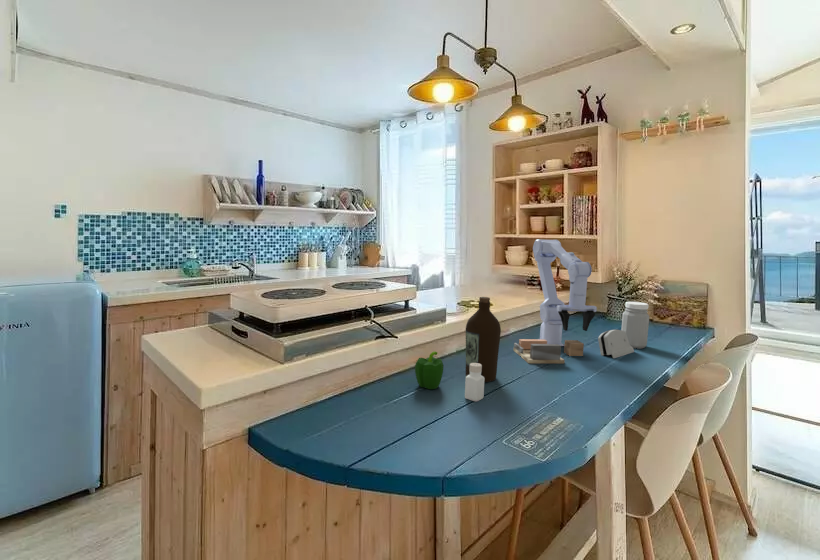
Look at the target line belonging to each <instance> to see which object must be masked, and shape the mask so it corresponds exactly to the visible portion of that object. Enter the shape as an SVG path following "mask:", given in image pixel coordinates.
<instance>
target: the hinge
mask: <svg viewBox="0 0 820 560" xmlns="http://www.w3.org/2000/svg"><path fill="white" fill-rule="evenodd" d="M597 341H598V347H599V352H600V356H610V355H611V357H612V359H616V358H619V357H623V356H625V355H629V354H633V353H634V352H635V350H634V349H635V348H633V347H632V346H630V345H629V342H628V339H627V336H626V333H625V332H624V331H622V330H621V329H611V330H606V331H604V332H602V333H600V335H599V336H598V337H597Z"/></svg>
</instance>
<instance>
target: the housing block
mask: <svg viewBox="0 0 820 560" xmlns="http://www.w3.org/2000/svg"><path fill="white" fill-rule="evenodd" d="M584 347H585V345H584V342H581V341H579V340H577V339H576V340H575V339H574V340H573V339H565V340H564V346H563V353H564V354H565V353H566V354H565V355H567V356H568V355H569V357H570V356H583V357H584Z"/></svg>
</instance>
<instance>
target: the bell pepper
mask: <svg viewBox="0 0 820 560" xmlns="http://www.w3.org/2000/svg"><path fill="white" fill-rule="evenodd" d="M436 355H438V351H432V352H431V353H430V354H429V355H428V356H429V357H426V358H424V357H418V358H417V360H416V362H415V364H414V374H415V378H416V382H417V384H418V385H419V387H420V388H425V389H428V390H435V389H438V387H439V386H440V384H441V381H442V379H443V378H442V377H443V374H444V363H443V361H442V360H443V359H442V358H436V357H434V356H436Z"/></svg>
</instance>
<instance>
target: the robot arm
mask: <svg viewBox="0 0 820 560" xmlns="http://www.w3.org/2000/svg"><path fill="white" fill-rule="evenodd" d="M532 252H533V256H534V257H533V258H534V261H535V262H536V265H537V270H538V274H539V279H540V284H541V288H542V293H543V298H544V301H543V302H541V303H540V305H539V317H540V319H541V320H540V321H542V323H541V324H540V329H539V330H540V331H539V339H545V340H546V341H547V344H559V345H560V346H561V347H564V345H565V343H563V342H562V335H563V330H564V331H565V332H568V329H569V319H570V316H571V313H569V312H582V330H583V331H585V332H587V331H588V328H589V326H590V323H591V322H592V320H593V319H594V317H595V316H596V313H597V309H598V307H597V306H596V305H586V301H587V289H588V278H590V276H591V275H592V273H593V272H592V271H593V269H592V265H591V264H590V262H589V261H582V260H581V259H580V258H578V256H576V255H575V253H574V252H572V251H570V252H568V251H566V249H565V248H564V247H563V246H562V243H561V242H560V241H559V240H558V239H541V238H540V239H539V238H538V239H535V240H534V243H533V246H532ZM557 258H558V259H560V260H559V262H560V264H561V265H562V267H564V268H565V269H566V270H567V275H568V277H569V278H568V281H569V282H570V283H569V285H570V286H569V298H568V299H569V300H568V304H565V302H564V301H562V300H561V299H560V298H559V297H558V294H557V289H556V283H555V280H554V274H553V271H552V265H551V263H553V262H555V260H556V259H557Z"/></svg>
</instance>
